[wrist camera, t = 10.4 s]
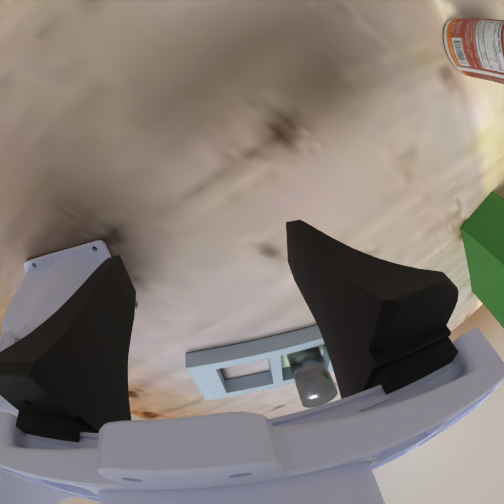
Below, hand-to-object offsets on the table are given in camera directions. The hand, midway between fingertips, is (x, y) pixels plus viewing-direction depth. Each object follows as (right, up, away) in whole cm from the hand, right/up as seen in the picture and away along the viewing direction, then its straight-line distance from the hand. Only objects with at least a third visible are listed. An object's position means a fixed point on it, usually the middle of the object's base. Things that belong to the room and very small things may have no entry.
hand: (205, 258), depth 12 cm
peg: (+8, -12, +21) cm, 25 cm away
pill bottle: (+22, +20, +3) cm, 30 cm away
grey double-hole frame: (+4, -12, +21) cm, 25 cm away
